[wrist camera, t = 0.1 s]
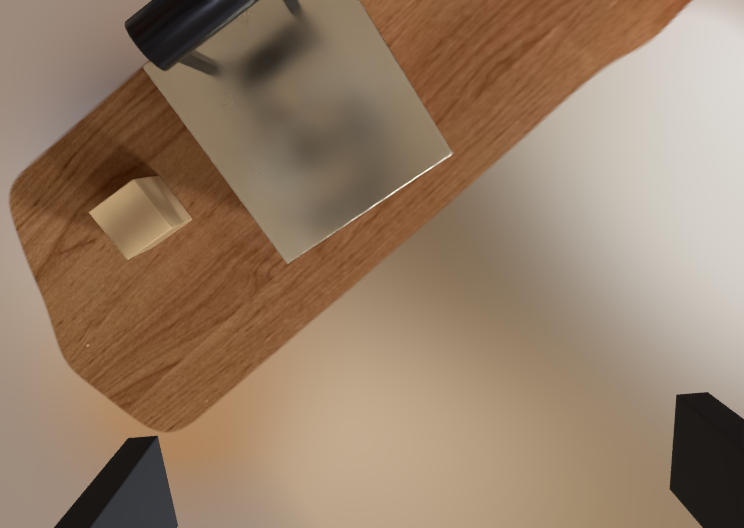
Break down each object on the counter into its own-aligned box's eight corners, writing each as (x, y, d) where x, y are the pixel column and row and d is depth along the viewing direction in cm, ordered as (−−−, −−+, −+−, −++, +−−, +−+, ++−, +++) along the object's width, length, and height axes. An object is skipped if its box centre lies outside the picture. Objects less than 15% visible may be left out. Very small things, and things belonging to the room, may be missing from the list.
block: (118, 204, 41) (87, 212, 36) (159, 174, 40) (133, 178, 36) (152, 247, 42) (126, 260, 37) (193, 219, 41) (171, 228, 37)
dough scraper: (147, 68, 29) (46, 35, 20) (318, -65, 27) (292, -166, 18) (289, 261, 32) (256, 308, 23) (451, 153, 30) (485, 157, 21)
